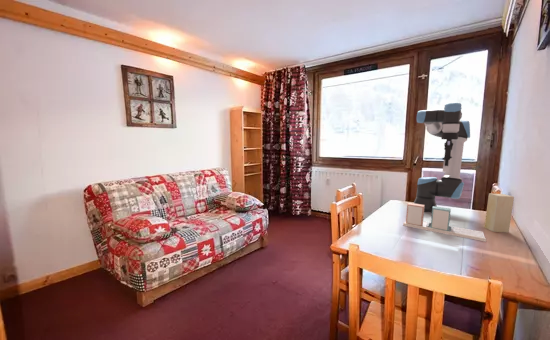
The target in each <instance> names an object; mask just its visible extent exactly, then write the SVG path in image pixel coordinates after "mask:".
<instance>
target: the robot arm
mask: <svg viewBox="0 0 550 340" xmlns="http://www.w3.org/2000/svg"><path fill="white" fill-rule="evenodd" d="M416 113H417V114H416V123H418V124H424V125H425V127H426V128H425V129H426V131H427V132H428V133H429V134H430V135H432V136H434V137H438V138H441V140H446V141H445V142H444V148H443V149H444V155H443V157H442V160H443V165H442V173H444V175H443V176H441V177H440V178H441V179H438V177H435V176H423V177H419V178H418V180H417V185H416V186H417V187H416V196H415V198H414V201H413V203H415V204H421V205H425V207H424V212H426V213H427V212H428V213H432V208H433V206H436V207H438V206H437V202H436V197H438V198H439V197H440V198H445V199H446V198H447V199H454V200H457V199H460V198H461V196H462V193H463V190H464V186H465V182H463V179H462V178H461V177H460V176H461V168H462V162H463V152H464V147H465V146H464V143H466V142H467V141H468V139H470V138H471V125H470V124H471V123H470V121H469V120H462V117H463V113H462V103H461V102H449V103H448V102H447V103H445V104H444V108H443V109H442V108H441V109H423V110H418V111H417V112H416Z"/></svg>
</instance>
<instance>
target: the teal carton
mask: <svg viewBox="0 0 550 340" xmlns="http://www.w3.org/2000/svg"><path fill="white" fill-rule="evenodd" d="M451 210H452V208H451V207H450V208H449V207H441V206H437V207H436V206H433V208H432V212H431V220H430V222H431V227H430V228H434V229H439V230H445V231H448V230H449V226H450V220H451V219H450V218H451Z"/></svg>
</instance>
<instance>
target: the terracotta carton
mask: <svg viewBox="0 0 550 340" xmlns="http://www.w3.org/2000/svg"><path fill="white" fill-rule="evenodd" d="M424 207H425V205H421V204H415V203H414V202H408V203H407V205H406V217H405V221H406V223H408V224H413V225H418V226H423V221H424V216H425V215H424V214H425V211H424Z"/></svg>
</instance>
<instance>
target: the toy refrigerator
mask: <svg viewBox="0 0 550 340" xmlns="http://www.w3.org/2000/svg"><path fill="white" fill-rule="evenodd" d="M514 200H515V197H514V196H513V195H508V194H507V193H506V194H504V193H488V198H487V203H486V204H487V205H486V213H485V222H484V229H486V230H489V231H490V232H492V233H509V232H510V228H511V227H510V226H511V219H512V213H513V208H514V207H513V206H514Z"/></svg>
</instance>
